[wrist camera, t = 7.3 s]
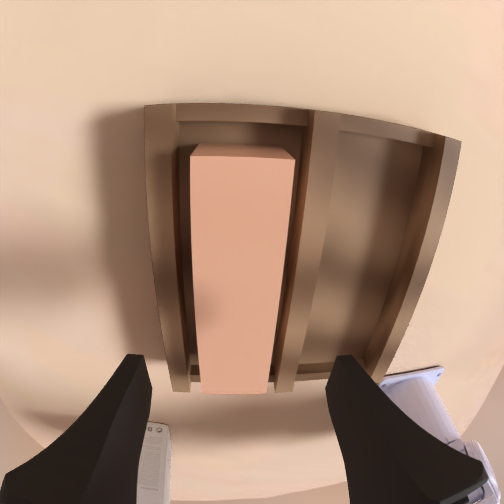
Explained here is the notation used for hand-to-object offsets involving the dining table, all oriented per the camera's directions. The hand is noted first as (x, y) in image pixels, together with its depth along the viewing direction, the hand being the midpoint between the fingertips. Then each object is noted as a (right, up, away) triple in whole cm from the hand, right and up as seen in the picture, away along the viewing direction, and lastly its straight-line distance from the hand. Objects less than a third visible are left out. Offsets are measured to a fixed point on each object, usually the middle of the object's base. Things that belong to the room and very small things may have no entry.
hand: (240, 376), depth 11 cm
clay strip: (-1, +4, +7) cm, 8 cm away
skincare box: (-10, -15, +17) cm, 25 cm away
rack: (+3, +4, +8) cm, 9 cm away
